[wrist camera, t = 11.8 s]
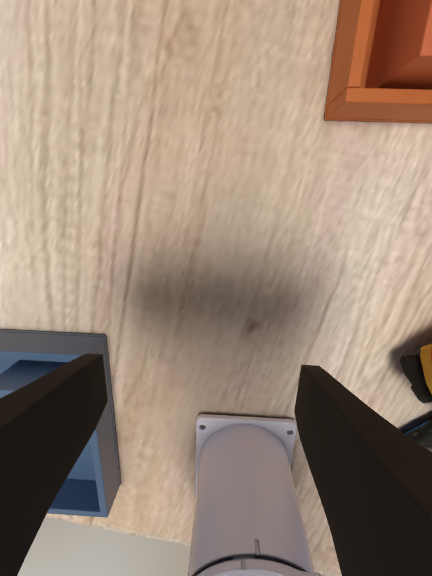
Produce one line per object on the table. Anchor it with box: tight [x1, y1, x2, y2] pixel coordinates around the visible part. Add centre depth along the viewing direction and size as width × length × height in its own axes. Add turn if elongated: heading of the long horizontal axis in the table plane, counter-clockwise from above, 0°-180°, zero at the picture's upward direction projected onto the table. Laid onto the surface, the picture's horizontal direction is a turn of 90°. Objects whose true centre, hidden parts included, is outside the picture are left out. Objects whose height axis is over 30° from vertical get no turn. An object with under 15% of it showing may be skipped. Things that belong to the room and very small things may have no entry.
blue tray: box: [0, 329, 121, 517], centre depth 21 cm, size 15×13×3 cm
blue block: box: [0, 360, 68, 398], centre depth 19 cm, size 4×4×4 cm
